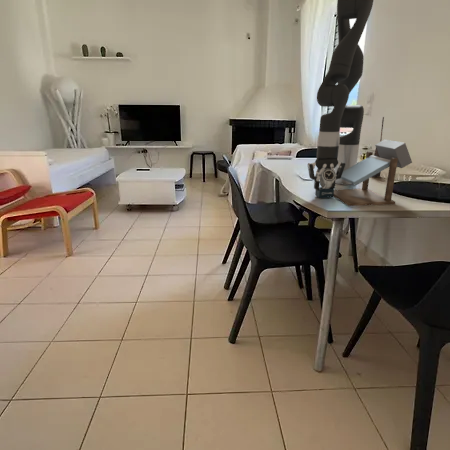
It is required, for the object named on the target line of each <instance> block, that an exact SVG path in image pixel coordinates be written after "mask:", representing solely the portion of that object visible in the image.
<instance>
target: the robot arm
mask: <svg viewBox="0 0 450 450" xmlns="http://www.w3.org/2000/svg"><path fill="white" fill-rule="evenodd" d="M373 5H374V0H337V2H336V15H337V16H336V17H337V34H338V35H337V37H338V40H337V41H338V42H337V43H338V44H337V46H336V47H335V48H334V51H333V52H332V56H331V59H330V64H329V67H328V71H327V72H326V75H325V76H324V79H323V80H322V82H321V83H320V86H319V88H318V89H317V93H316V101H317V104H318V105H319V106H321V107H325V108H326V107H330V108H331V107H333V109H332V111H331V112H329V113H324V114H322V115H321V116H320V121H319V130H318V131H319V132H318V137H317V144H316V145H317V146H316V147H317V148H316V160H315V161H314V162H312V163H310V162H308V163H307V169H308V177H309V179H311V180H313V182H314V183H313V189H314V190H315V192H316V191H319V187H320V177H321V176H322V173H323V171H324V170H325V169H332V170H333V171H334V172H335V174H336V177H335V179H334V182H333V183H332V186H331V187H330V188H331V189H334V190H335V187H336V185H343V186H344V185H352V184H351V183H349V182H347V181H345V180H343V179H341V176H342V173H343V171H345V170H347V169H348V168H350V167H352V166H354V165H355V164H357V163H358V157H359V150H360V149H359V148H360V141H361V133H362V132H361V131H362V127H363V126H362V125H363V122H364V121H363V120H364V115H365V114H364V113H365V108H364V105H362V104H352V105H351V104H348V101H349V97H350V93H351V92H352V91H353V89H354V88H355V87H356V85H357V84H358V83H359V81H360V80H361V77H362V76H363V72H364V53H363V50H362V48H361V47H360V44H359V42H360V40H361V37H362V35H363V32H364V29H365V28H366V25H367V22H368V21H369V20H368V19H370V18H369V17H370V15H371V13H372V12H371V11H372V8H373ZM352 19H353V20H354V19H355V22H354V23H353V25H352V27H351V22H350V20H352ZM347 104H348V105H347ZM341 129H352V131H350V132H349V133H347V134H345V135H340V133H341V132H340V131H341ZM315 167H316V168H317V169H316V171H315V170H314V169H315Z"/></svg>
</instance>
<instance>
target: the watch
mask: <svg viewBox="0 0 450 450" xmlns="http://www.w3.org/2000/svg"><path fill="white" fill-rule="evenodd" d="M335 177H336V174H335V172H334V171H333V170H332V169H325V170H324V171H323V173H322V176H321V177H320V180H319V181H320V184H319V191H316V190H315V192H314V194H315V196H316V197H317V198H319V199H322V198H334V190H335V188H334V189H331V188H330V187H331V186H332V183H333V182H334V179H335Z"/></svg>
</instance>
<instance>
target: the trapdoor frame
mask: <svg viewBox="0 0 450 450" xmlns="http://www.w3.org/2000/svg"><path fill="white" fill-rule="evenodd" d="M370 155H373V156H374V152H373V151H367V152H366V155H365V159H366V158H368V157H369V156H370ZM397 162H398V158H391V160H390V166H389V167H388V175H387V180H386V187H385V193H384V195H382V194H380V193H378V192H375V191H373V190H372V189H369V182H370V178H368V179H367V180H365V181H363V182H362V183H361V185H362V186H361V188H349V189H348V188H347V189H346V188H345V189H343V188H342V189H341V188H340V189H334V196H333V198H335V199H337V200H339V201H340V202H342V203H343V204H345V205H346V206H348V207H357V206H358V207H360V206H381V205H382V206H384V205H385V206H386V205H396V201H395V200H393V199H392V196H393V191H394V184H395V179H396V172H397V168H398V167H397Z"/></svg>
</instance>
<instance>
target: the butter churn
mask: <svg viewBox="0 0 450 450" xmlns="http://www.w3.org/2000/svg"><path fill="white" fill-rule="evenodd" d="M384 119H385V116H382V120H381V131H380V140H379V142H381V141H383V140H382V139H383V137H382V136H383V129H384V121H385V120H384ZM373 156H377V157H380V156H379V154H378V151H377V148H376V147H375V149H374V152H373ZM381 173H382V171H381V172H379V173H377V174H376V175H374V176H372V177H373V178H378V177H381Z"/></svg>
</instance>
